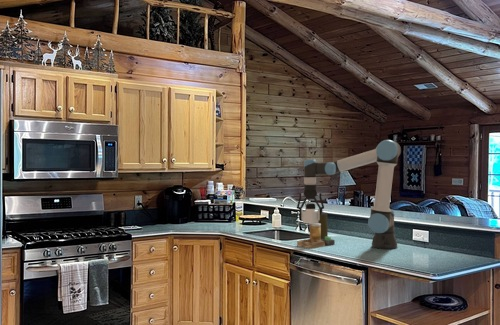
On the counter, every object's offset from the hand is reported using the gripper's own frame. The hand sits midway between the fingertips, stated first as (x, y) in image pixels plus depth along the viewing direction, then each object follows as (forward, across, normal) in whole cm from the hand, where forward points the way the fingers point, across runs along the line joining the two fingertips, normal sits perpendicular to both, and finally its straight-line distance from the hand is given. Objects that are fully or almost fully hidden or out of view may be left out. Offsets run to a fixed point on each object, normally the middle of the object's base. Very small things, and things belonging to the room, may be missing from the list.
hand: (310, 220), depth 303 cm
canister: (+16, -6, -32) cm, 36 cm away
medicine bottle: (+2, 0, 0) cm, 2 cm away
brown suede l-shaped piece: (+16, -2, -4) cm, 17 cm away
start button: (+15, -11, -6) cm, 20 cm away
